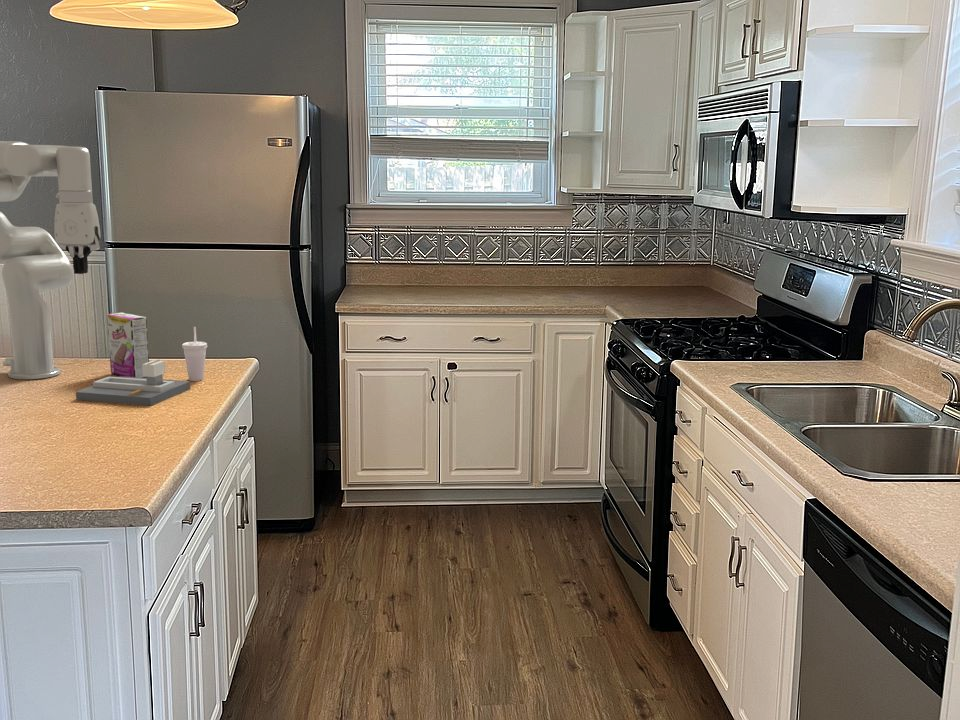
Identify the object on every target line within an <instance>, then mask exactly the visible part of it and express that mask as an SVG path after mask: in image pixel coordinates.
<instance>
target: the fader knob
mask: <svg viewBox="0 0 960 720" xmlns="http://www.w3.org/2000/svg"><path fill="white" fill-rule="evenodd" d="M142 365H143V376H145V377H146V378H147V385H155V386H159V385H162V384H163V375H164V374H166V361H165V360H160V359H157V360H155V359H154V360H151V361H150V360H149V362H148V363H145V364H142Z"/></svg>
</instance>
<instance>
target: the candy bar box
mask: <svg viewBox="0 0 960 720" xmlns="http://www.w3.org/2000/svg"><path fill="white" fill-rule="evenodd" d="M106 320H107V323H106V324H107V335H108V348H109V349H108V351H109V363H110V374H112V375H115V376H118V377H119V376H126V377H139V378H146V377H145V376H143V365H142V364H145V363H148V362H150V358H149V355H150V354H149V340H148V339H149V337H148V321H147V317H146V316H142V315H137V314H132V313H128V312H127V313H126V312H122V311H121V312H114V313H109V314H106Z"/></svg>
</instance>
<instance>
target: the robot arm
mask: <svg viewBox="0 0 960 720" xmlns="http://www.w3.org/2000/svg"><path fill="white" fill-rule="evenodd" d="M91 171H92V170H91V154H90V151H89V149H88V148H87V147H83V146H68V145H59V144H58V145H54V144H29V143H27V142H24V141H10V140H9V141H7V140H6V141H5V140H0V202H1V203H2V202H4V203H5V202H7V203H8V202H13V201H15V200H17V199H19V197H21V195H22V194H23V192H24V190H25V188H26V187H27V185H28V183H29V182H30V180H31V178H32V177H38V178H39V177H57V185H58V192H57V193H55V198H56V199H58V200H59V202H58V203H56V206H55V211H54V226H53V227H54V238H53V236H52V235H51V234H50V233H49V232H48V231H47V230H45V229H44V228H42V227H38V226H16V225H13V224H12V223H11V222H10V220H9V219H8V218H7V216H6V215H5V214H4V213H3V212H2V211H0V264H3V266H2V269H1V276H2V281H3V285H4V288H5V292H6V297H7V302H8V303H7V304H8V309H9V320H10V329H11V330H10V331H11V333H10V334H11V344H12V356H13V357H6V358H5V359H4V360H2V361H3V362H2V366H3V367H10V370H9V371H8V373H7V375H8V378H11V379H16V380H38V379H46V378H52V377H55V376H58V375H60V373H61V368H60V367H58V366H55V365H54V352H53V339H52V327H51V325H52V324H51V315H50V314H51V313H50V308H49V307H50V306H48V303H47V302H46V300H45V299H44V298H43V297H42V295H41V294H40V293H42V292H48V291H55V290H57V291H58V290H62V289H65V288H68V287H69V286H70V285H71V284H72V283H73V281H74V277H75V276H74V274H77V275H83V274H87V273H88V272H89V271H88V270H89V263H88V262H89V261H88V258H89V257H90V254H91V253H92V252H95V251H98V250H100V249H101V247H100V243H101V226H100V219H99V216H98V215H99V214H98V211H97V207H96V204H94V203H93V202H94V199H93V189H92V188H93V187H92V186H93V185H92V184H93V183H92V172H91ZM63 250H64V251H65V250H66V252H67V253H68V254H69V256H70V258H72V263H71V261H70V260H69V258H68V256H67V255H66V253H64V251H63Z"/></svg>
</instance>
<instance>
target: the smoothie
mask: <svg viewBox="0 0 960 720" xmlns="http://www.w3.org/2000/svg"><path fill="white" fill-rule="evenodd" d="M181 346H182V347H181V348H182V349H183V353H184V359H185V360H184V361H185V364H186V365H185V366H186V370H187V378H188V380H189V381H190V382H200V380H201V381H203V380H204V377H205V365H206V363H205V362H206V355H207V354H206V352H207V348H208V342H205V341H197V327H196V326H193V341H188V342H187V341H186V342H184V343H182V344H181Z"/></svg>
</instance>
